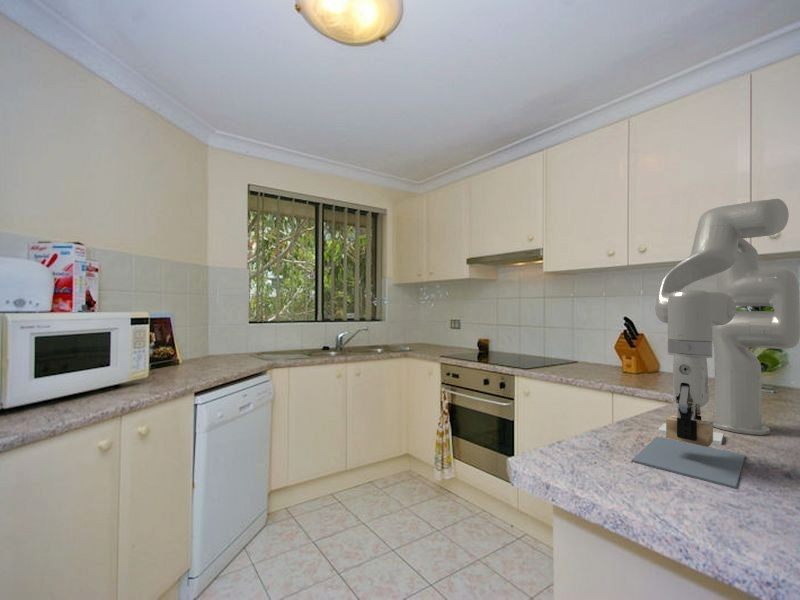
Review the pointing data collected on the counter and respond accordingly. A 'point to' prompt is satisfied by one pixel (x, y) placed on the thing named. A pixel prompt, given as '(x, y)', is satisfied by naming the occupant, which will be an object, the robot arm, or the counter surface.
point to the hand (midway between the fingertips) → (689, 435)
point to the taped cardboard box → (702, 431)
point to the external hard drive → (716, 436)
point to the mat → (692, 461)
